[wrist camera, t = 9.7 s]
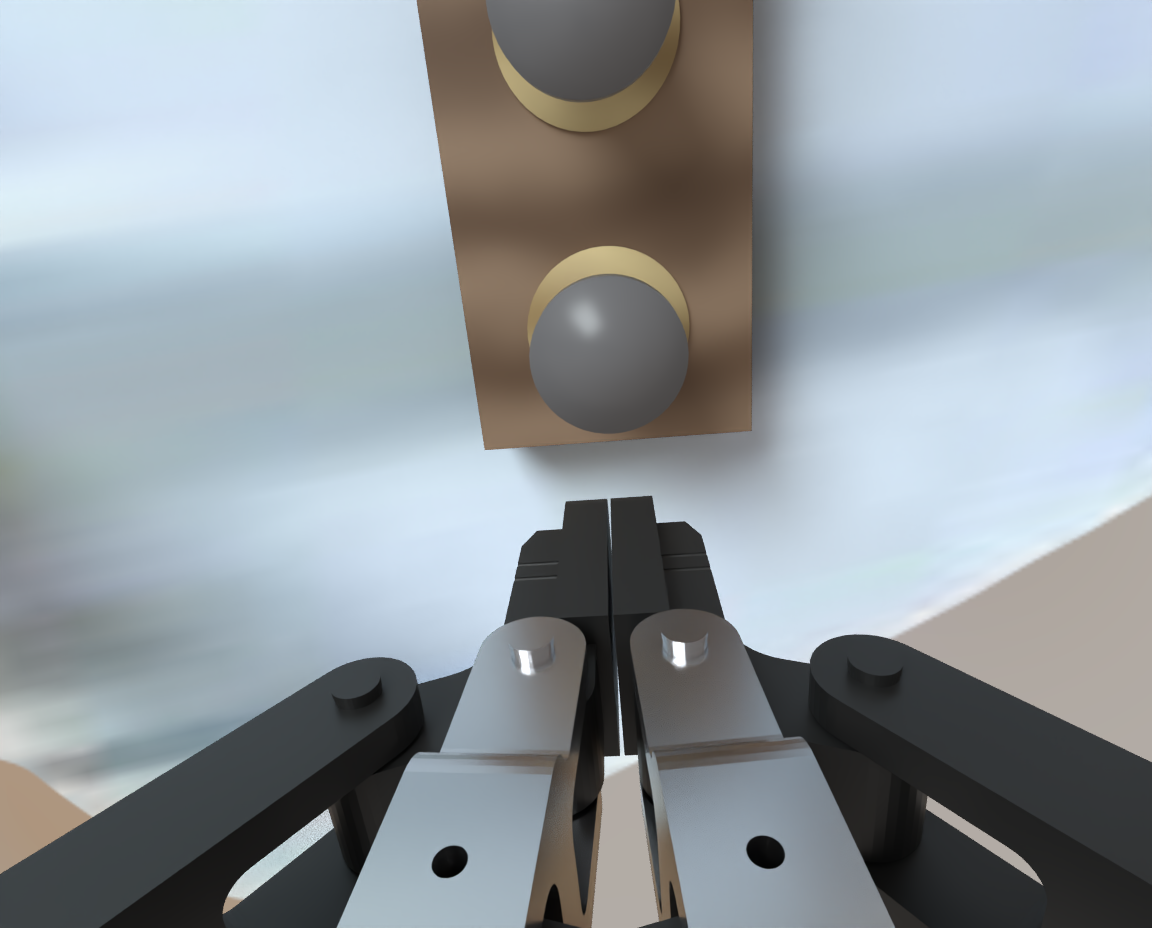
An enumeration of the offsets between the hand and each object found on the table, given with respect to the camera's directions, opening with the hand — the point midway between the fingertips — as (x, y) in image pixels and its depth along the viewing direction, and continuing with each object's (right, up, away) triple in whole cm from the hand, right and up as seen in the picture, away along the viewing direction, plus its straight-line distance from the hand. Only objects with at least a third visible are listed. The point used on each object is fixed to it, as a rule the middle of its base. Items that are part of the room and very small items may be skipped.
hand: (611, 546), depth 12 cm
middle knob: (0, +17, +13) cm, 21 cm away
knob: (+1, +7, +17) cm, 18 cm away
